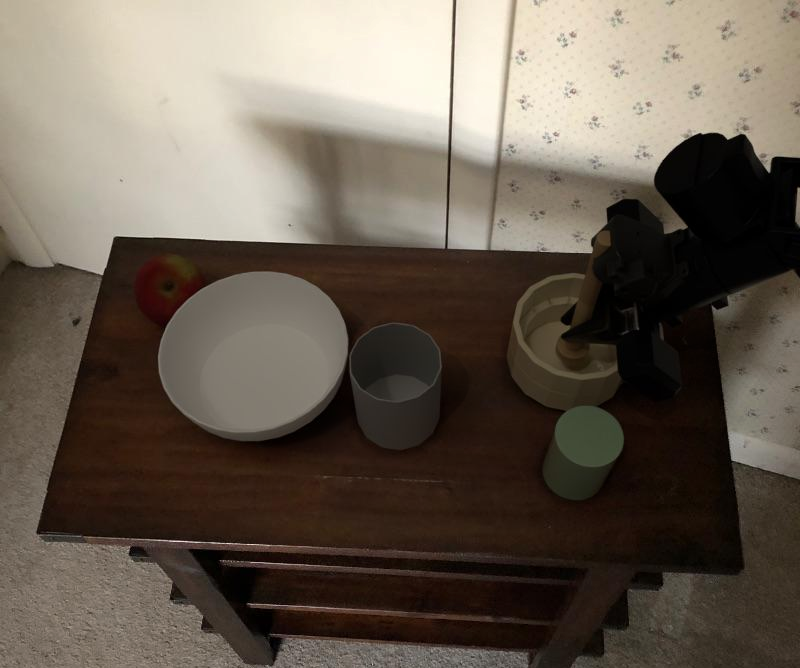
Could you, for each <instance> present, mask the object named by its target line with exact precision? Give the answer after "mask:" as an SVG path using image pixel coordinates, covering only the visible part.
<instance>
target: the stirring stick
mask: <svg viewBox="0 0 800 668" xmlns="http://www.w3.org/2000/svg"><path fill="white" fill-rule="evenodd" d="M597 233H598V232H597ZM610 245H611V242H610V231H601V232H600V233H598V235H597V237H596V240H595V244H594V247H592V250H591V254H590V257H589V260H588V264H587V267H586V271H585V274H584V275H585V278H584V281H583V285H582V288H581V291H580V295H579V298H578V302H577V305H576V308H575V312H574V315H573V318H572V322H571V325H570V329H571V328H573V327H575V326H578V325H580V324H582V323H584V322H586V321H589V320H591V317H592V314H593V311H594V307H595V304H596V301H597V298H598V295H599V292H600V289H601V286H602V283H603V282H601V281H599V280H598V279H597V278H596V277H595V275H594V273H593V270H592V265H593V258H596V257H598V256H599V255H601V254H602V253H604V252H605V251H606V250H607V249H608V248H609V247H610ZM589 349H590V344H586V343H567V342H565V341H564V340H562V339H561V336H560V337H559V338H558V340H557V344H556V348H555V352H556V355H557V357H558V358H559V359H560V360H561V361H562V362H564V363H567V364H571V365H574V364H579V363H581V362H583V361H584V360H585V359H586V357H587V355H588V352H589Z"/></svg>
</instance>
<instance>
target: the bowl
mask: <svg viewBox="0 0 800 668" xmlns="http://www.w3.org/2000/svg"><path fill="white" fill-rule="evenodd" d="M348 356H349V335H348V329H347V324H346V322H345V320H344V318H343V316H342V313H341V311H340V309H339V307H338V306H337V305H336V304H335V303H334V301H333V300H332V299H331V297H330V296H329V295H327V294H326V293H325V292H324V291H323V290H322V289H321V288H319V287H318V286H317V285H315V284H313V283H311V282H309V281H307V280H305V279H304V278H300V277H298V276H294V275H292V274H289V273H283V272H277V271H247V272H242V273H237V274H233V275H230V276H228V277H225V278H221V279H218V280H216V281H214V282H212V283H210V284H207V286H206V287H205V288H203V289H201V290H200V291H198V292H197V293H196V294H194V295H193V296H192V297H190V298H189V299H188V300H187V301H186V302H185V303H184V304H183V305H182V306H181V307H180V308H179V309H178V310H177V311H176V313H175V314H174V316H173V317H172V319H171V320H170V322H169V323H168V325H167V327H166V328H165V329H164V332H163V334H162V337H161V339H160V342H159V348H158V355H157V363H158V375H159V378H160V382H161V384H162V388H163V390H164V392H165V393H166V395H167V397H168V398H169V400H170V402H171V403H172V405H174V407H176V408H177V409H178V410H179V412H181V413H182V415H184V416H185V417H186V418H188V419H189V420H190V421H191V422H193V423H194V424H195V425H197V426H199V427H200V428H201V429H203V430H205V431H206V432H208V433H209V434H211V435H215V436H217V437H220V438H223V439H226V440H227V439H228V440H232V441H237V442H238V441H239V442H262V441H268V440H272V439H278V438H281V437H283V436H287V435H288V434H291V433H294V432H296V431H297V430H299V429H301V428H303V427H305V426H306V425H307V424H310V423H311V422H312V421H314V420H315V419H316V418H317V417H318V416H319V415H320V414H322V413H323V412H324V411H325V410H326V408H327V407H328V406H329V404H330V403H332V401H333V399H334V398H335V396H336V394H337V393H338V390H339V388H340V387H341V385H342V382H343V379H344V374H345V370H346V366H347V361H348V358H349V357H348Z"/></svg>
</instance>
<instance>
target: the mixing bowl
mask: <svg viewBox="0 0 800 668" xmlns="http://www.w3.org/2000/svg"><path fill="white" fill-rule="evenodd" d="M584 278H585V274H583V273H577V272H570V273H562V274H555V275H549V276H548V277H545V278H544V279H542V280H539V281H538V282H535V283H534V284H532V285H530V286H529V287H528V288H527V290H526V291H525V293H523V295H522V296H521V297H520V298H519V300H518V301H517V303H516V308H515V311H514V315H513V319H512V324H511V325H512V326H511V331H510V336H509V341H508V345H507V352H506V359H507V365H508V368H509V372H510V377H511V378H512V379H513V380H514V382H515V383H516V384H517V386H518V387H519V389H521V391H522V392H523V394H524V395H525V396H528V397H529V398H531V399H533V400H534V401H535V402H537V403H539V404H541V405H543V406H544V407H545V408H550V409H555V410H561V411H565V412H566V411H568V410H570V409H572V408H574V407H578V406H594V407H599V406H600V405H602V404H603V403H605V402H607V401H608V400H611V399H612V398H614V396H615V395H616V393H617V392H618V390H619V389H620V388H621V386H622V385H623V383H625V382H624V381H623V380H622V379H621V377H620V375H619V373H618V367H617V353H616V345H606V344H590V349H589V352H588V355H587V357H586V359H585V360H584V361H583V362H581V363H579V364H574V365H571V364H567V363H564V362H562V361H561V360H560V359H559V358H558V357H557V355H556V352H555V348H556V344H557V340H558V338H559V337H560V336H561V335H562V334H563V333H565V332H566V331H568V330H569V329H570V325H569V326H566V325H564V324H563V323H561V317H562V316H563V315H564V314H565V313H566V312H567V311H568V310H569V309H570V308H571V307H572V306H573V305H574V304H575V303H576V302H577V301H578V298H579V295H580V291H581V288H582V285H583V281H584ZM632 308H634V307H632ZM632 308H629V309H625V310H630V309H632ZM625 310H622V312H623V311H625Z"/></svg>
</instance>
